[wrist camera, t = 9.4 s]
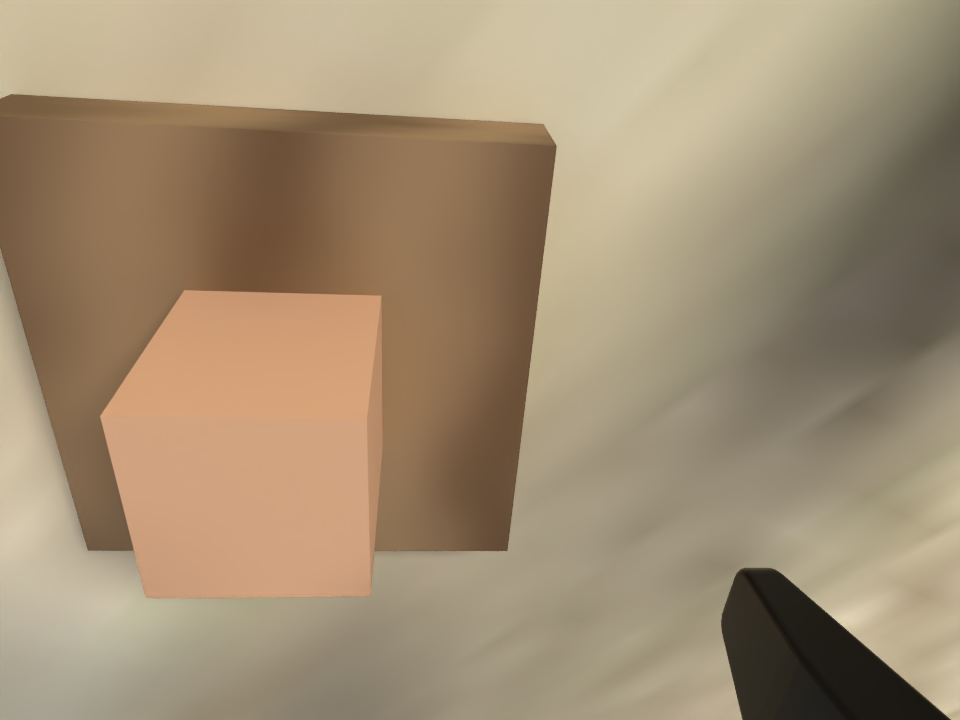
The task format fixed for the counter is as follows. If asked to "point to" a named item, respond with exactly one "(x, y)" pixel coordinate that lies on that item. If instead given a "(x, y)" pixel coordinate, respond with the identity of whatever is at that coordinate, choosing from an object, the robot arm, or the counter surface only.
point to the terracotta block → (253, 446)
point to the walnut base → (287, 275)
